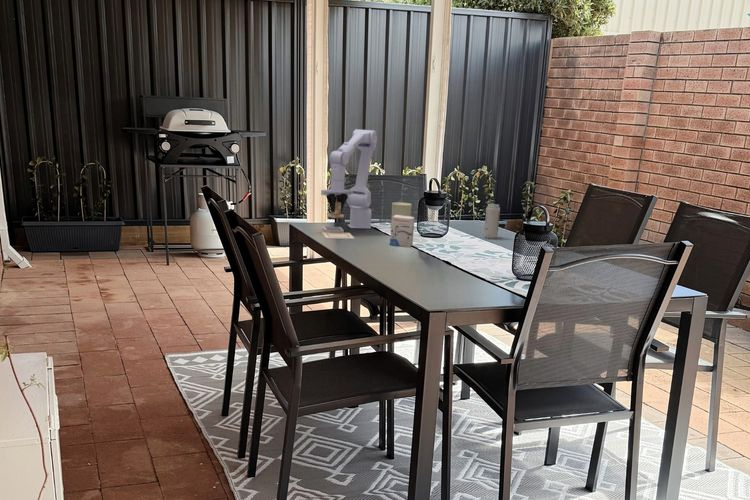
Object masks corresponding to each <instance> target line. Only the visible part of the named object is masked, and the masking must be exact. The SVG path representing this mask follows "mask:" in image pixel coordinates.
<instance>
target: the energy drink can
mask: <svg viewBox="0 0 750 500" xmlns="http://www.w3.org/2000/svg"><path fill="white" fill-rule="evenodd" d="M500 213H501V207H500V204H496V203H488V204H487V207H486V208H485V219H484V229H483V231H484V232H483V236H484V239H487V238H489V239H488V240H496V239H497V238H498V235H499V225H500V224H499V223H500V216H501V215H500ZM495 238H496V239H495Z"/></svg>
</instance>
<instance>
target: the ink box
mask: <svg viewBox="0 0 750 500" xmlns="http://www.w3.org/2000/svg"><path fill="white" fill-rule="evenodd" d="M390 227H391V228H390V239H389V245H390V246H397V247H405V248H410V247H412V246H413V244H414V243H413V242H414V231H415V229H414V228H415V216H411V217H410V216H402V215H394V216H393V217H392V225H391V224H390Z"/></svg>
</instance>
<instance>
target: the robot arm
mask: <svg viewBox="0 0 750 500" xmlns="http://www.w3.org/2000/svg"><path fill="white" fill-rule="evenodd" d="M377 142H378V134H377V131H376V130H374V129H373V130H369V129H358V128H355V129H354V130H353V131H352V137H351V138H350V139H349V141H344V142H343V143H342V145H341V146H340V147H338V149H337V150H333V151H331V152H330V154H329V159H328V160H329V163H330V166H329V167H330V169H331V173H330V174H331V175H330V177H331V178H330V189H321V191H320V193H321V194H320V195H321V196H325V197H326V199H327V202H328V205H329V207H330V208H329V210H330V213H331V212H335V203H336V202H340V203H341V213H342V212H343V209H344V206H345V204H346V203H347V205H348V207H349V209H350V213H349V214H350V215H349V224H347V226H348V227H349V228H350V229H372V209H371V208H369V207H370V206H371V202H372V196H371V195H372V192H371V190H369V189H368V186H367V185H368V179H369V175H370V174H369V172H370V169H371V162H372V155H373V152H374V151H375V150H376V147H377ZM355 148H357V149H358V150H359V151H360V156H359V163H358V169H357V174H356V179H355V185H354V186H352V187H351V188H349V189H345V180H346V179H345V178H346V177H345V176H346V165H348V162H349V160H350V157H351V156H352V155H353V154H354V153H355Z"/></svg>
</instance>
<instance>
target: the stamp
mask: <svg viewBox="0 0 750 500" xmlns="http://www.w3.org/2000/svg"><path fill="white" fill-rule="evenodd" d="M327 218H330V219H333V220H336V219H344V218H345V216H344V214H343V213H342V212H341V203H340V202H338V201H336V203H335V212H331V211H330V212H329V213H327Z"/></svg>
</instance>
